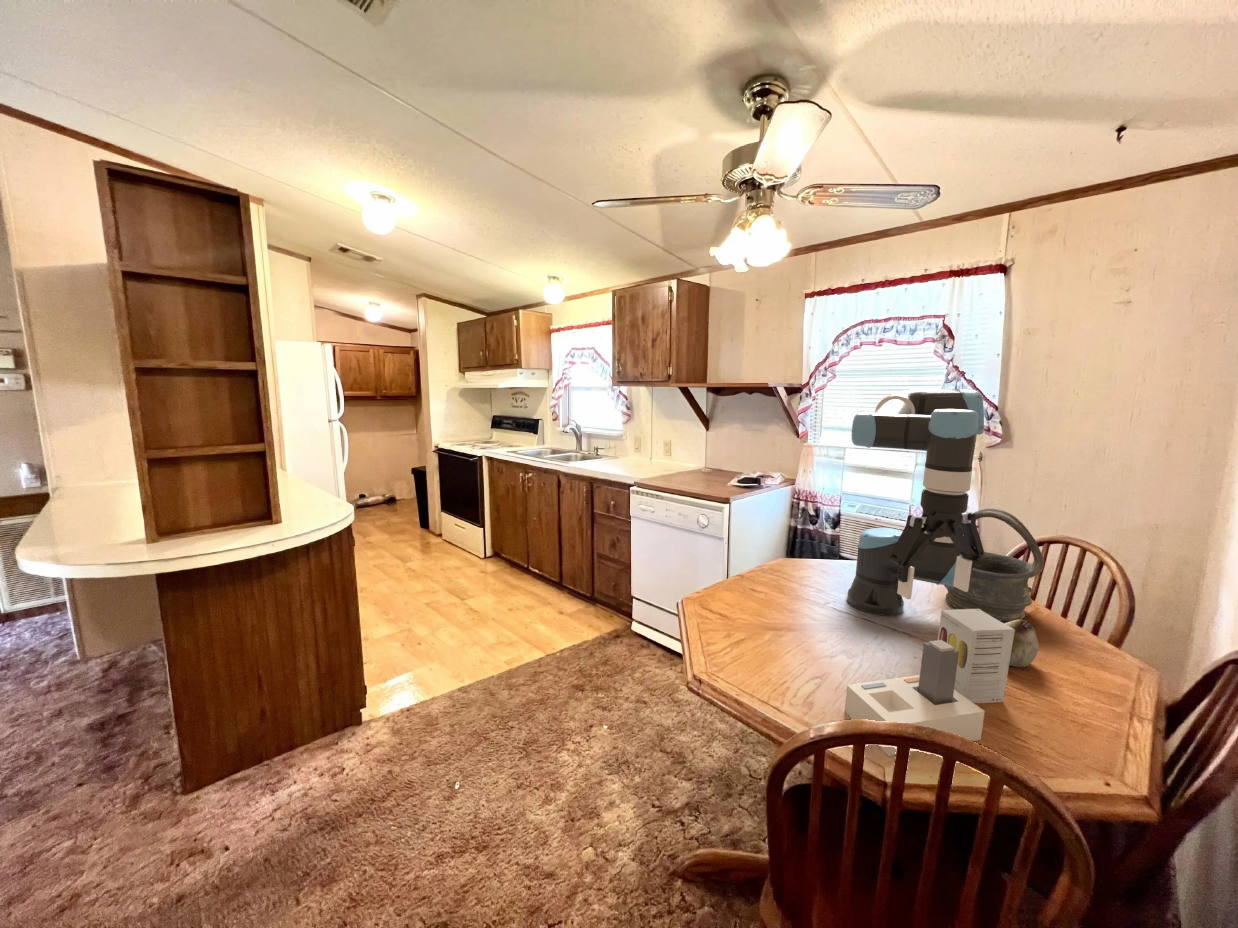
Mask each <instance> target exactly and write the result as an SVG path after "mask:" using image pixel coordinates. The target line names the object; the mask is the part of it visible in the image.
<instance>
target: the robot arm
mask: <svg viewBox="0 0 1238 928" xmlns="http://www.w3.org/2000/svg"><path fill="white" fill-rule="evenodd" d="M984 407H985V406H984V398H983V395H982V393H981V392H980V391H978V390H974V389H973V390H972V389H962V388H959V389H922V388H921V389H920V388H919V389H918V388H917V389H909V390H903V391H900V392H899V391H898V392H895V393H892V394H890V395H888V396H886V397H884V398H883V399H881V400H880V402H878V404H877V405H876V407H875V410H874V413H872V412H866V413H865V412H861V413H856V414H855V415H854V417H853V420H852V427H851V442H852V444H853V445H854V446H856V447H857V446H858V447H865V448H876V449H877V448H878V449H879V448H880V449H881V448H883V449H896V450H897V449H898V450H907V451H909V450H910V451H922V452H923V451H924V452H926V454H925V455H926V457H925V463H924V472H923V479H922V480H923V481H922V486H923V487H924V488H923V489H922V490H921V495H920V496H921V497H920V506H921V509H922V513H921V516H917V515H913V514H908V516H907V519H906V522H905V523H906V524H905V527H904V528H903V530H901V529H896V528H892V527H875V528H874V527H873V528H867V529H865V530H863V531H862V532H860V535H859V539H858V543H857V557H856V558H857V559H856V567H855V576H854V578H853V581H852V583H851V585H850V588H848V591H847V595H846V596H847V597H846V600H847V603H849V604H850V605H851V606H853V607H854V608H856V609H858V610H861V611H863V612H865V613H870V614H873V615H878V616H879V615H880V616H897V615H900V614H901V613H903V612H904V607H905V606H904V605H905V602H904V599H903V598H905V599H906V600H912V596H913V595H912V593H913V586H914V580H916V581H921V582H926V583H930V584H935V585H938V586H939V585H940V586H941V585H942V586H944V585H947V586H954V587H956V588H958V589H960V590H962V591H964V592H968V588H969V581H970V574H971V573H972V569H973V562H974V561H977V562H978V561H979V560H980V557H979V556H983V555H984V552H985V550H984V547H983V543H982V540H981V537H980V534H979V530H978V526H977V520H976V514H975V512H971V511H968V503H969V497H970V496H969V494H968V492H969V491H970V490H971V483H972V474H973V461H974V455H975V450H976V444H977V443H976V442H977V436H979V435H983V434H984V432H985V409H984ZM960 525H961V528H962V530H961V528H960Z"/></svg>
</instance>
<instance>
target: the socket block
mask: <svg viewBox="0 0 1238 928" xmlns="http://www.w3.org/2000/svg"><path fill="white" fill-rule="evenodd" d="M919 678H920V674H916V675H910V676H903V677H902V676H901V677H894V678H888V679H879V680H873V681H866V682H858V683H853V684H852V683H851V684H847V685H846V694H845V704H844V705H845V706H844V713H845V714H846V715H847V716H848V715H849V716H848V717H849V718H850V719H868V720H875V721H889V722H897V723H909V724H914V725H919V726H924V727H930V728H935V729H939V730H942V731H947V732H950V733H955V734H956V735H960V736H961V737H964V738H967V739H969V740H973V741H972V742H976V741H981V739H982V733H983V725H984V721H985V720H984V719H985V713H986V711H985V710H984V709H983V708H982V707H980V706H978V705H977V704H976V703H975V704H974V703H972V702H971V701H970V700H968V699H967V698H965V697H964V696H962V695H961V694H960V693H958V692H957V691H955V690H954V693H953V701H952V703H946V704H940V705H934V704H933V703H931V702H930V701H929V700H927V699H926V698H925V697H924V696H922V695H921V694H920V693H918V687H919ZM878 747H879V748H880V749H881V750H882V751H883V752H884V753H885V754H886V755H887V756H888V757H892V756H896V755H895V752H896V749H895V748H894V747H882V746H878ZM915 752H916V751H910V752H909V753H915Z"/></svg>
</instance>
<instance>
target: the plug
mask: <svg viewBox="0 0 1238 928" xmlns="http://www.w3.org/2000/svg"><path fill="white" fill-rule="evenodd" d="M922 645H923V647H922V654H921V665H920V671H919V675H920V678H919V687H918V693H920V694H921V695H922V696H924V697H925V698H926V699H927V700H929V701H930V702H931V703H933V704H934V705H940V704H946V703H952V701H953V693H954V686H955V678H956V671H957V663H958V656H959V651H957V650H955V649H954V647H952V646H951V645H949V644H947V643H946V642H944V641H942V640H938V639H937V640H929V641H928V642H923V644H922Z"/></svg>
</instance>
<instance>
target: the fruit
mask: <svg viewBox="0 0 1238 928" xmlns="http://www.w3.org/2000/svg"><path fill="white" fill-rule="evenodd" d="M1003 623H1004V622H1003ZM1004 624H1006V625H1007V626H1009V627H1011V628H1013V629H1015V632H1014V638H1013V644H1012V650H1011V656H1010V662H1009V667H1010V666H1012V667H1015V668H1023V667H1027V666H1029V665H1031V664H1032V663H1033V661H1034V660H1035V659H1036V657H1037V656H1038V652H1039V650H1040V649H1039V648H1040V644H1039V641H1038V637H1037V634H1036V630H1035V628H1034V625H1032V623H1030V621H1029V620H1024V619H1021V620H1014V621H1007V622H1005V623H1004Z"/></svg>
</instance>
